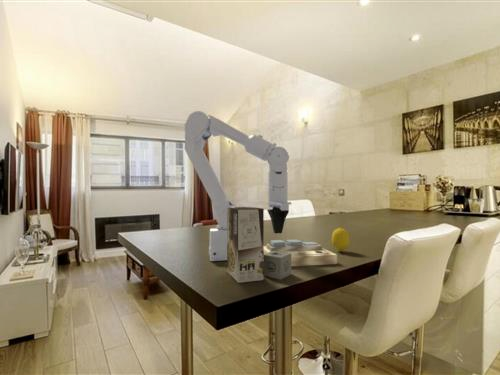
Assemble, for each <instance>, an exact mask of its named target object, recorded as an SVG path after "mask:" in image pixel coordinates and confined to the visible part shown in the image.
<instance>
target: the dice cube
mask: <svg viewBox="0 0 500 375" xmlns="http://www.w3.org/2000/svg"><path fill="white" fill-rule="evenodd" d="M290 275H292V266H291V253H284V252H278V251H272V252H269V253H266V254H264V277H266V278H272V279H276V280H282V279H285V278H287V277H289V276H290Z"/></svg>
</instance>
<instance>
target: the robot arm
mask: <svg viewBox="0 0 500 375" xmlns="http://www.w3.org/2000/svg"><path fill="white" fill-rule="evenodd" d="M184 132H185V134H184V135H185V136H184V150H185V152H186V154H187V156H188V158H189V160H190V162H191V164H192V166H193V168H194V170H195V171H196V174H197V176H198V177H199V180H200V181H201V184H202V185H203V187H204V189H205V191H206V193H207V194H208V197H209V198H210V200H211V203H212V208H213V209H214V212H215V215H216V216H215V220H216V222H217V225H216V227H215V228H212V227H211V228H210V229H209V246H208V254H209V261H211V262H216V261H217V262H218V261H219V262H221V261H227V208H235V207H237V206H236V205H234V204H233V203H232V201H231V199H230V198H229V196H228V195H227V193H226V192H225V190H224V188H223V186H222V184H221V181H220V179H219V177H218V176H217V174H216V172H215V171H214V169H213V167H212V164H211V163H210V161H209V159H208V157H207V156H206V153H205V152H204V148H205V144H206V142H207V141H208V140H209V139H210V138H211V137H212V136H213V137H219V136H222V137H224V138H227V139H229V140H232V141H233V142H235V143H238V144H240V145H242V146H243V147H244V150H245V152H246V153H248V154H250V155H252V156H253V157H255V158H258V159H259V160H261V161H264V162H266V161H267V163H268V165H269V167H268V168H269V170H268V173H267V174H268V182H267V183H268V184H267V185H268V186H267V187H268V192H267V193H268V201H267V205H268V208H270V209H267V213H268V215H269V218H270V221H271V225H272V230H273V233H274V234H282V233H283V231H284V230H283V229H284V225H285V222H286V218H287V216H288V215H289V211H290V205H292V202H291V201H288V186H289V185H288V176H289V175H288V174H289V173H288V164H287V163H288V162H289V159H290V155H289V152H288V151H287V149H286V148H284V147H282V146H277V143H276V142H273V143H272V142H270V141H269V140H267V139H264V138H263V136H262V135H261V134H258V135H257V134H252V135H248V134H246V133H244V132H242V131H240V130H239V129H238V128H237V129H236V128H235V127H233V126H232V125H230V124H228V123H227V122H224V121H222V120H221V119H219V118H217V117H215V116H213V115H211V114H206V113H205V112H203V111H199V110H197V111H193V112H191V113H189V115H188V117H187V118H186V122H185V123H184Z"/></svg>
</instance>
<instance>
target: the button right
mask: <svg viewBox="0 0 500 375" xmlns="http://www.w3.org/2000/svg"><path fill="white" fill-rule="evenodd" d="M301 242H302V244H303V245H305V246H314V245H317V244H318V243H317V242H315V241H301ZM314 242H315V243H314ZM316 243H317V244H316Z"/></svg>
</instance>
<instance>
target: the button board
mask: <svg viewBox="0 0 500 375" xmlns="http://www.w3.org/2000/svg"><path fill="white" fill-rule="evenodd" d="M313 242H314V243H316V244H317V245H314V246H305V245H303V244H302V246H288V245H286V247H272V246H271V243H266V245H264V254H266V253H269V252H272V251H278V252H284V253H291V267H303V266H304V267H305V266H306V267H307V266H322V265H323V266H324V265H337V264H338V254H336V253H334V252H332V251H330V250H328V249H326V248H323V245H321V244H319V243H317V242H315V241H313Z"/></svg>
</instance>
